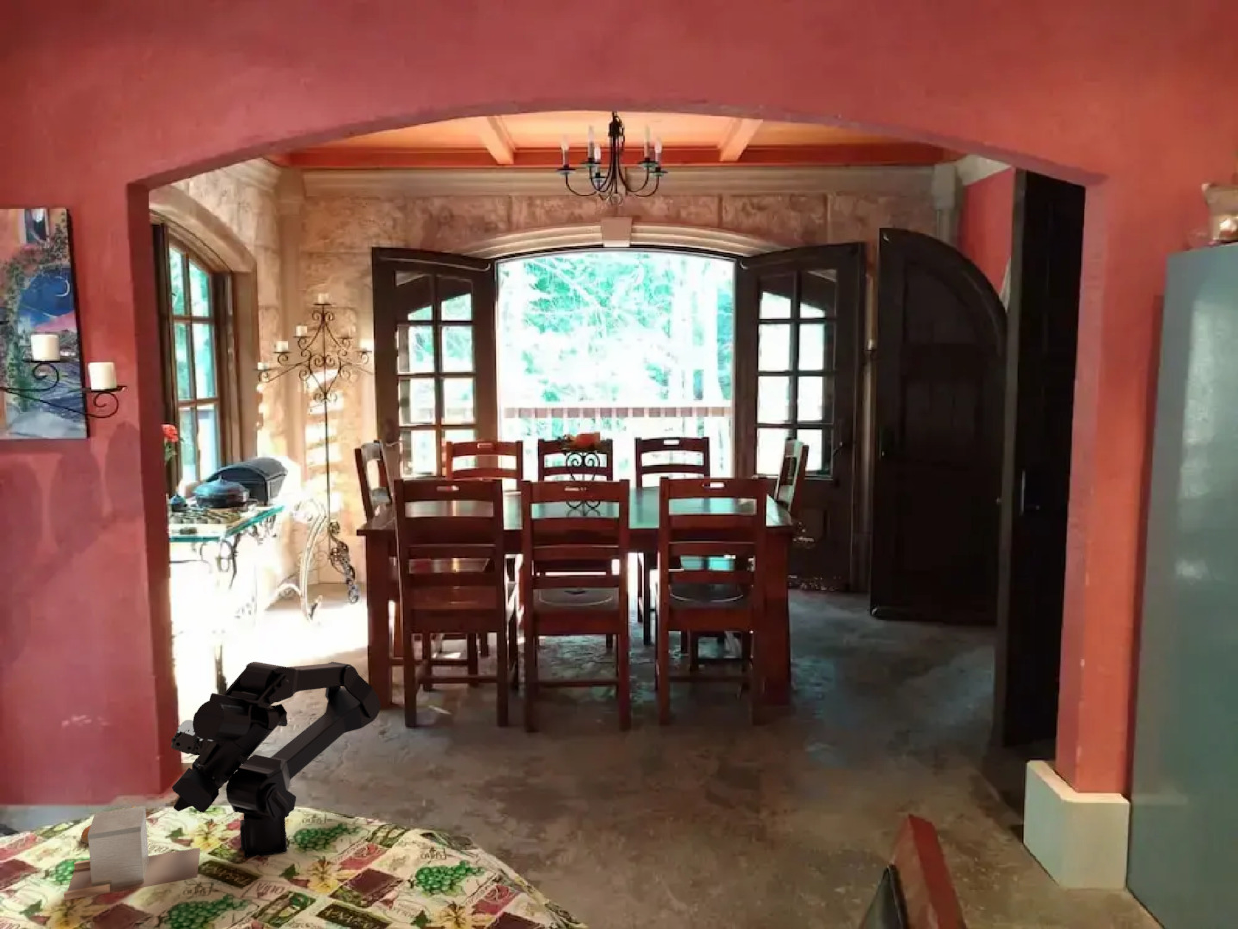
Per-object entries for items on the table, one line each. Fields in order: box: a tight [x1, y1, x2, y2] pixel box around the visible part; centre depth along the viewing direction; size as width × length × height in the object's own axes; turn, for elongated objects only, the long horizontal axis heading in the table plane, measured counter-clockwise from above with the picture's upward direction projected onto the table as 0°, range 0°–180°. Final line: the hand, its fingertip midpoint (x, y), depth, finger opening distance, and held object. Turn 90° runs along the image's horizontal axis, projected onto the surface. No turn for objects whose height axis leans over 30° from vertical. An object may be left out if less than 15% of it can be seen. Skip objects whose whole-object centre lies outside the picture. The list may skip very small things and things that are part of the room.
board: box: [63, 847, 201, 901], centre depth 152 cm, size 18×9×1 cm, turn 110°
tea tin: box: [88, 805, 149, 888], centre depth 151 cm, size 7×7×9 cm
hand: (176, 808), depth 157 cm, fingers closed
